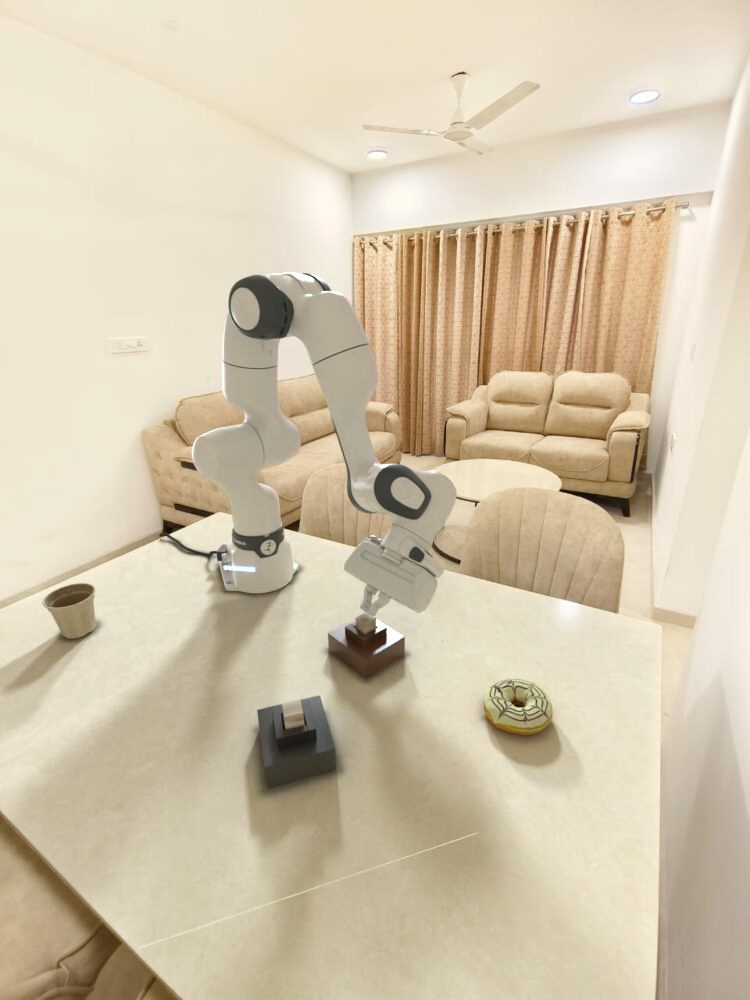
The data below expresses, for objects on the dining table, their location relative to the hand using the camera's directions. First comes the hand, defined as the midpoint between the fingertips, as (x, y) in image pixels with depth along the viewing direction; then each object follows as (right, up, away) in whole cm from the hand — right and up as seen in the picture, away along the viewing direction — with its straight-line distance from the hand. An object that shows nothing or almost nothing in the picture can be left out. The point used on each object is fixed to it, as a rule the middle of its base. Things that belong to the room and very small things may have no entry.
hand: (366, 612), depth 94 cm
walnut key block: (0, -9, +3) cm, 9 cm away
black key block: (-10, -17, -17) cm, 27 cm away
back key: (0, -3, +1) cm, 4 cm away
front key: (-11, -12, -20) cm, 25 cm away
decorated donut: (+25, -14, -12) cm, 31 cm away
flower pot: (-61, -6, +11) cm, 62 cm away
